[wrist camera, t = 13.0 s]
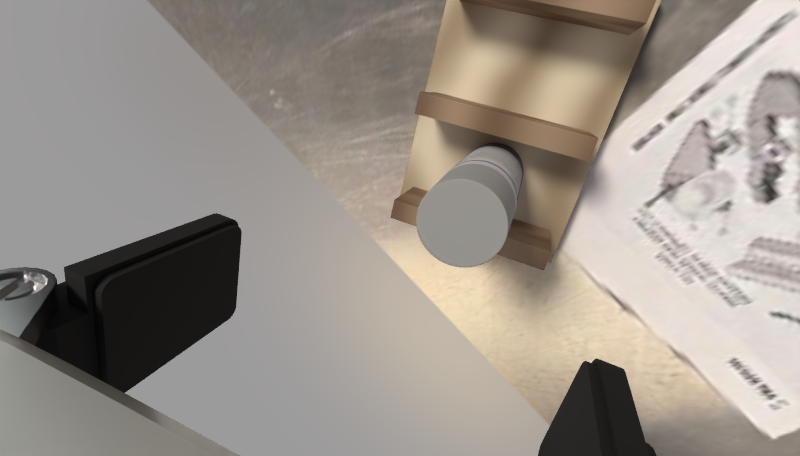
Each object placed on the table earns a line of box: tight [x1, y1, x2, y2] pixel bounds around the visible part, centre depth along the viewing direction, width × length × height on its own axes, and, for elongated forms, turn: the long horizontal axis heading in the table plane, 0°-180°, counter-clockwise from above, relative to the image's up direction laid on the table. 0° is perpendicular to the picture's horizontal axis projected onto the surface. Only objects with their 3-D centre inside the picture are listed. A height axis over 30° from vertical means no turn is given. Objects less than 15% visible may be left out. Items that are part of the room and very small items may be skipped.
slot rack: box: [391, 0, 661, 270], centre depth 29 cm, size 14×20×6 cm
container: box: [416, 142, 523, 267], centre depth 26 cm, size 5×5×15 cm
